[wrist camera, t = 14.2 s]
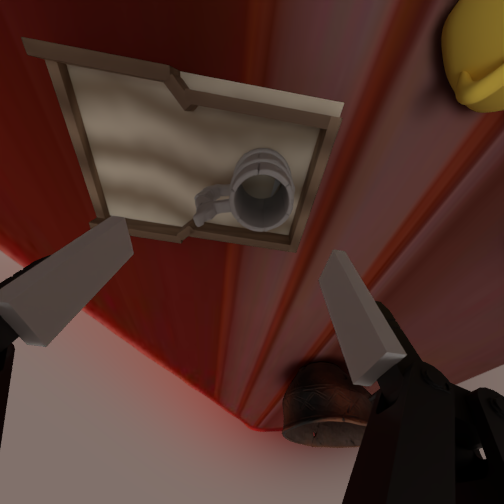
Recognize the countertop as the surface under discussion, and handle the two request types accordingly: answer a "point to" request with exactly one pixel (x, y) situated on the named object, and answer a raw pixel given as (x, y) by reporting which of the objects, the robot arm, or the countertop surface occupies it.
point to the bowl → (325, 408)
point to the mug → (241, 203)
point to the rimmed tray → (183, 142)
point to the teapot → (475, 53)
